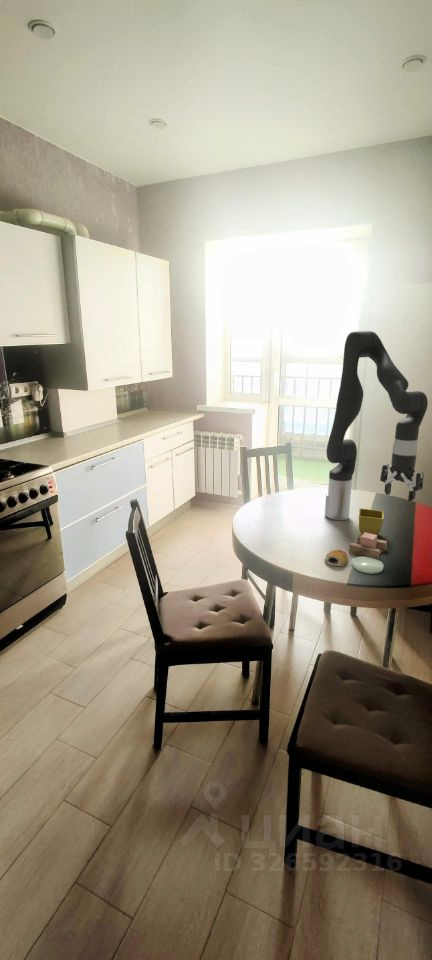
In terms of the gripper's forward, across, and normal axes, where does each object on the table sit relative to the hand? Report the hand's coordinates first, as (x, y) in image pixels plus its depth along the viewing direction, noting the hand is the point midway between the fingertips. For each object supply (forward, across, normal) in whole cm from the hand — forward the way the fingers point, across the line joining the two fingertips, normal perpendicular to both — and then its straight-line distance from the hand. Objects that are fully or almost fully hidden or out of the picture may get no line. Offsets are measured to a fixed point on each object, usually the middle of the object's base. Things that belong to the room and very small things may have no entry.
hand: (399, 497), depth 153 cm
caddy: (+19, -4, -9) cm, 22 cm away
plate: (+19, +2, -19) cm, 27 cm away
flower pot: (+20, -12, +3) cm, 23 cm away
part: (+20, -4, -9) cm, 22 cm away
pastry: (+20, -7, -24) cm, 32 cm away
